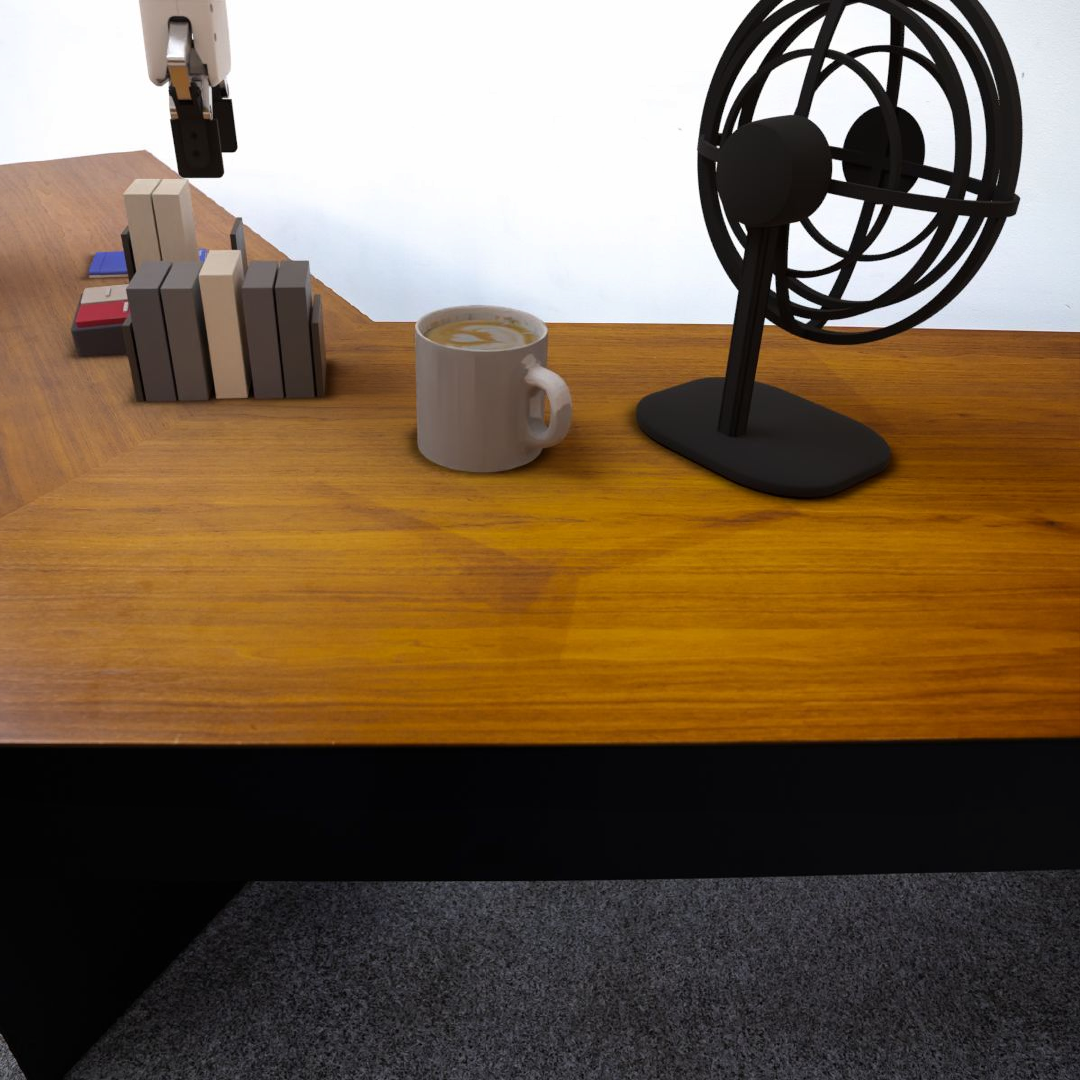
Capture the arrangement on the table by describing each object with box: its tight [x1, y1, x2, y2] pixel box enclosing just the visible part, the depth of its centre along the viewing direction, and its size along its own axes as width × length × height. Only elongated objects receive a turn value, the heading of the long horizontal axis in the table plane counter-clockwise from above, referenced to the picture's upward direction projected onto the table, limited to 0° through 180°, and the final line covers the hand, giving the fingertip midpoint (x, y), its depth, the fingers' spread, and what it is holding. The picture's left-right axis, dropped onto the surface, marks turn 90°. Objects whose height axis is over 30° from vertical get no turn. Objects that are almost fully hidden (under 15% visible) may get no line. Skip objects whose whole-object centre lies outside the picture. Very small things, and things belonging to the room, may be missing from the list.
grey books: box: [122, 260, 327, 403], centre depth 84 cm, size 15×8×10 cm, turn 99°
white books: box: [120, 178, 249, 284], centre depth 105 cm, size 11×7×11 cm, turn 99°
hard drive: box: [88, 248, 209, 279], centre depth 113 cm, size 2×8×12 cm
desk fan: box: [635, 0, 1024, 498], centre depth 72 cm, size 27×18×35 cm, turn 40°
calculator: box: [70, 283, 130, 358], centre depth 95 cm, size 11×4×15 cm
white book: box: [199, 249, 253, 399], centre depth 84 cm, size 3×7×11 cm, turn 9°
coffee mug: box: [414, 304, 573, 473], centre depth 75 cm, size 13×10×10 cm
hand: (210, 163), depth 76 cm, fingers open, 9 cm apart
